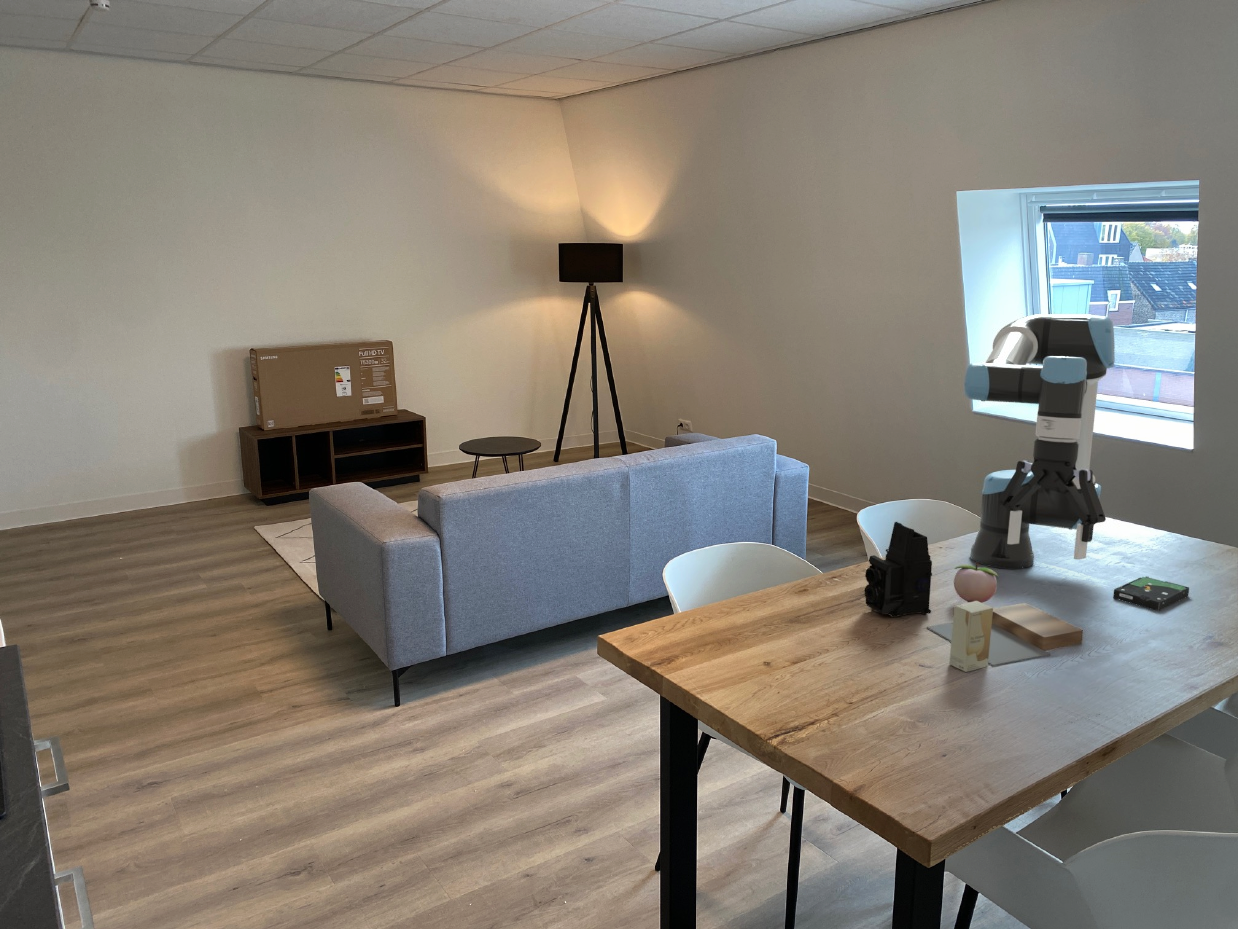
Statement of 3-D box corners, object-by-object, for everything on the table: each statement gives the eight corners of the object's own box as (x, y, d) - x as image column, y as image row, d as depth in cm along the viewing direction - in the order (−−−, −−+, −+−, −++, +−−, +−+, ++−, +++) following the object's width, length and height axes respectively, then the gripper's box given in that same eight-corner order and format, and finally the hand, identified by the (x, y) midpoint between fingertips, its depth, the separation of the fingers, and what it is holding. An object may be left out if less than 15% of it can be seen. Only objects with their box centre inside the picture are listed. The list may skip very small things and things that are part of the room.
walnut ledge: (987, 622, 201) (988, 609, 200) (1024, 615, 204) (1025, 602, 204) (1042, 651, 186) (1044, 637, 186) (1081, 643, 189) (1083, 630, 189)
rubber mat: (926, 628, 198) (927, 626, 198) (980, 618, 203) (980, 617, 203) (992, 666, 180) (993, 664, 180) (1050, 655, 184) (1050, 653, 184)
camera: (855, 608, 210) (859, 522, 205) (907, 600, 214) (912, 516, 209) (881, 624, 200) (886, 535, 196) (934, 616, 205) (940, 528, 200)
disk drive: (1159, 614, 206) (1188, 597, 215) (1161, 602, 205) (1190, 586, 214) (1111, 600, 214) (1142, 585, 223) (1113, 589, 213) (1143, 574, 222)
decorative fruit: (950, 608, 209) (953, 566, 206) (952, 596, 216) (955, 555, 214) (995, 614, 205) (999, 571, 203) (996, 601, 212) (999, 560, 210)
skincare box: (965, 673, 177) (970, 613, 174) (948, 664, 181) (952, 605, 178) (989, 666, 180) (994, 606, 177) (971, 657, 184) (976, 599, 181)
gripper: (985, 432, 182) (976, 539, 185) (1111, 447, 161) (1098, 567, 164) (1009, 432, 186) (999, 536, 189) (1134, 446, 165) (1121, 563, 168)
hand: (1045, 551), depth 176 cm, fingers open, 13 cm apart
